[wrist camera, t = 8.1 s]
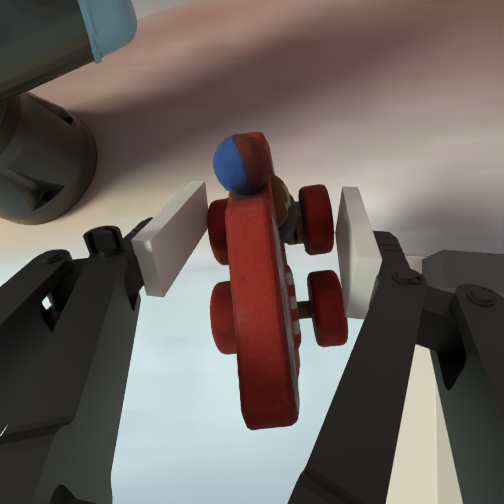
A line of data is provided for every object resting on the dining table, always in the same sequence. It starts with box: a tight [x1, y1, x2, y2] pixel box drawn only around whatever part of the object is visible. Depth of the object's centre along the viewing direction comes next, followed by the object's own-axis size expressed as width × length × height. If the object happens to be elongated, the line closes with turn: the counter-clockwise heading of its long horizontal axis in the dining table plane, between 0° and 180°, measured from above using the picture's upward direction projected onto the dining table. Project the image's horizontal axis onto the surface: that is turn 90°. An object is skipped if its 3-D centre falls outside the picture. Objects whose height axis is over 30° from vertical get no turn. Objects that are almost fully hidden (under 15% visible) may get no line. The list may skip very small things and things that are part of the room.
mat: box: [386, 255, 463, 504], centre depth 24 cm, size 24×18×1 cm
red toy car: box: [207, 132, 348, 430], centre depth 14 cm, size 7×12×10 cm, turn 5°
